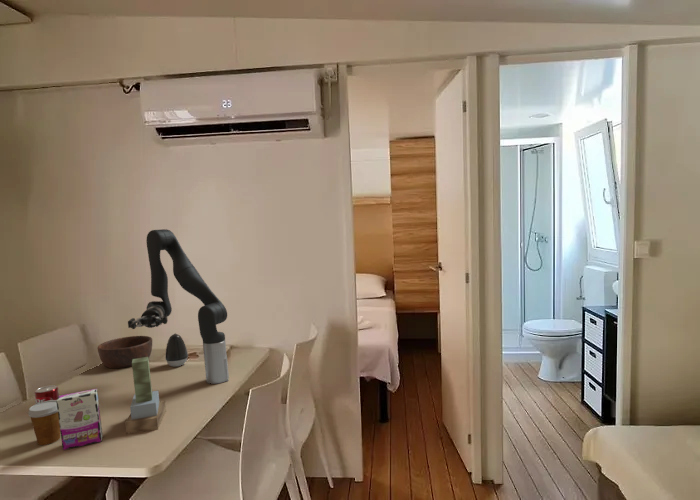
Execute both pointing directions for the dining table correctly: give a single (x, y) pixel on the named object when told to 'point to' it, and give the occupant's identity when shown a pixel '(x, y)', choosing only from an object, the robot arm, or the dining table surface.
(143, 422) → the tower base
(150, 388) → the olive block
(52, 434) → the disposable coffee cup
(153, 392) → the blue gray tower block
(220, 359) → the robot arm
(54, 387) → the soda can
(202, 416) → the dining table surface
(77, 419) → the candy bar box
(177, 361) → the black egg shape
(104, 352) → the wooden bowl
